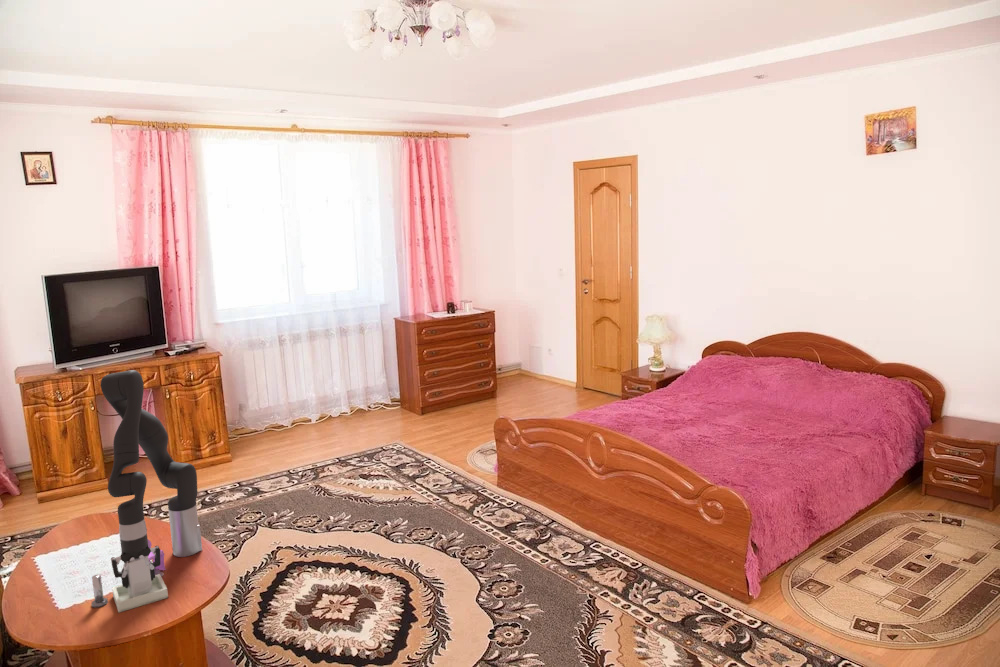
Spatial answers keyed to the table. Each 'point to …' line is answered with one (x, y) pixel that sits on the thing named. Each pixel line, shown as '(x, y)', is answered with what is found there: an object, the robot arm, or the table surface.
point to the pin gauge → (98, 592)
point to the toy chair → (152, 556)
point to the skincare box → (138, 577)
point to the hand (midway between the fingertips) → (139, 583)
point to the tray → (129, 602)
